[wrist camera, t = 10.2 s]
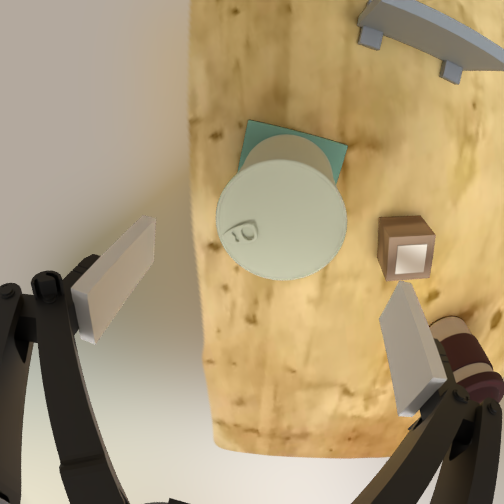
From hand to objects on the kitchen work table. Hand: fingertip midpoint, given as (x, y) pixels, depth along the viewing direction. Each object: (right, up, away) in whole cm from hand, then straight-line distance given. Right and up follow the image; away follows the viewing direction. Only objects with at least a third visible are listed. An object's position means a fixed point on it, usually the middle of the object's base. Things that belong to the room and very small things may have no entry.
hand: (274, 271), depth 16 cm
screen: (+15, +22, +7) cm, 27 cm away
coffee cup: (+27, -11, +23) cm, 37 cm away
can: (+2, +8, +16) cm, 18 cm away
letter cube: (+15, +3, +17) cm, 23 cm away
